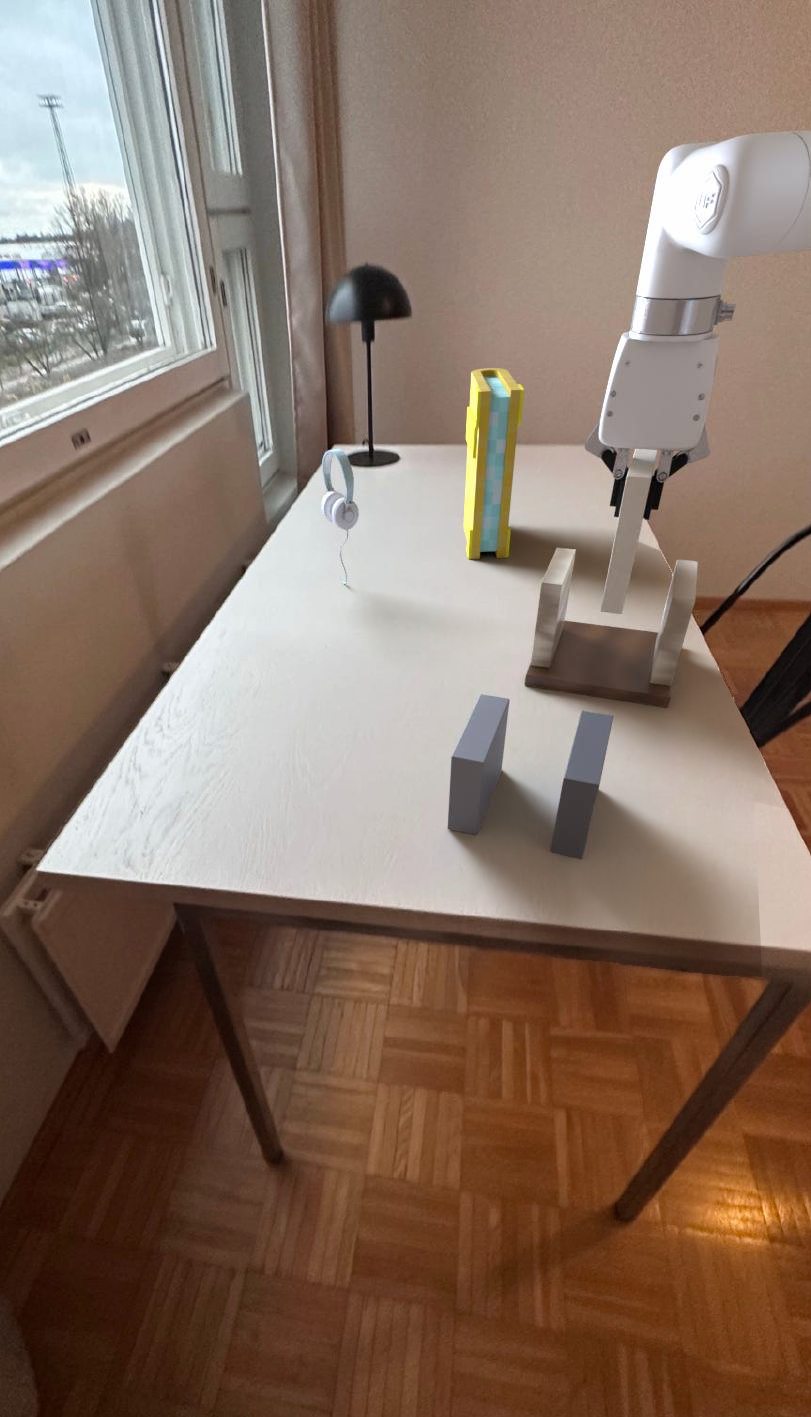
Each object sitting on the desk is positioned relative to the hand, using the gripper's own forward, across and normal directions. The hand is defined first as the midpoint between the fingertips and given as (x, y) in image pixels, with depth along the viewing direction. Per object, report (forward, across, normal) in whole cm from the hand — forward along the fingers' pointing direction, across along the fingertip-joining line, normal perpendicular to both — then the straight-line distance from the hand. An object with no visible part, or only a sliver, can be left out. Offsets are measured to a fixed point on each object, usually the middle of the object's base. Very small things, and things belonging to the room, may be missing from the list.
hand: (632, 513), depth 80 cm
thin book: (+10, 0, 0) cm, 10 cm away
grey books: (+19, +4, +31) cm, 37 cm away
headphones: (+20, +42, -14) cm, 48 cm away
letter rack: (+19, 0, 0) cm, 19 cm away
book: (+20, +25, -38) cm, 49 cm away
